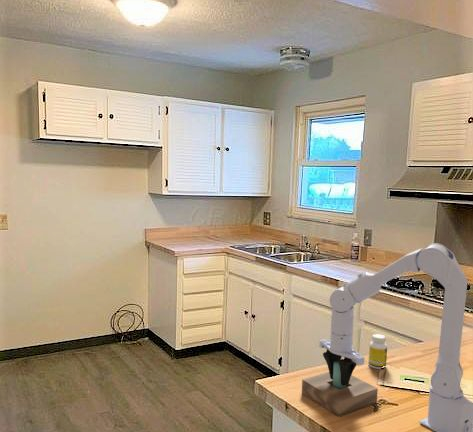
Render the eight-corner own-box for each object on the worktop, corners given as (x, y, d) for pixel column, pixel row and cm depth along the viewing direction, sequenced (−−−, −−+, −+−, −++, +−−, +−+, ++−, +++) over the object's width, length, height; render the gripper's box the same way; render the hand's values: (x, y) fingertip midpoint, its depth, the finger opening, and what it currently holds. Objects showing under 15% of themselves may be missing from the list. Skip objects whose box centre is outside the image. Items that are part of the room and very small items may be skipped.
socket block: (376, 402, 121) (377, 388, 121) (338, 417, 113) (339, 401, 113) (338, 382, 133) (339, 368, 132) (301, 393, 125) (302, 379, 125)
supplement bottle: (387, 370, 141) (388, 339, 141) (369, 368, 143) (370, 338, 142) (385, 363, 147) (386, 334, 146) (367, 361, 148) (369, 332, 147)
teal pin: (348, 392, 122) (349, 364, 122) (338, 396, 121) (340, 366, 120) (338, 387, 125) (340, 359, 125) (329, 390, 123) (330, 362, 123)
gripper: (373, 338, 117) (370, 388, 119) (333, 322, 130) (331, 368, 131) (354, 343, 114) (351, 395, 115) (314, 326, 126) (312, 373, 127)
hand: (339, 381), depth 123 cm, fingers closed on teal pin, 3 cm apart
